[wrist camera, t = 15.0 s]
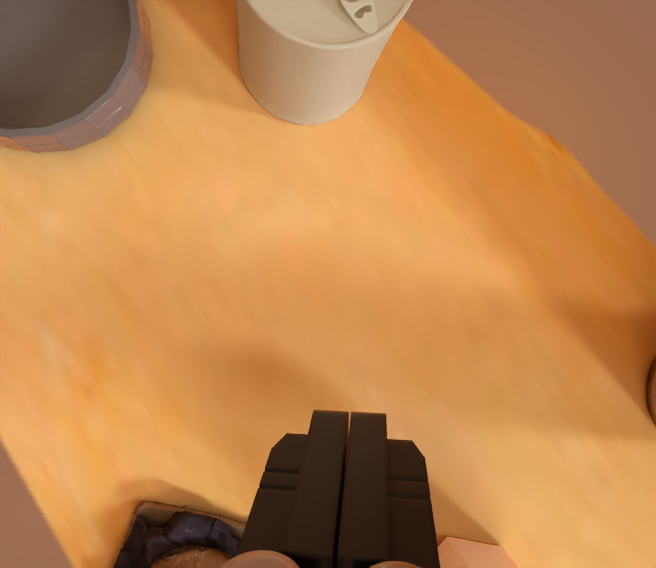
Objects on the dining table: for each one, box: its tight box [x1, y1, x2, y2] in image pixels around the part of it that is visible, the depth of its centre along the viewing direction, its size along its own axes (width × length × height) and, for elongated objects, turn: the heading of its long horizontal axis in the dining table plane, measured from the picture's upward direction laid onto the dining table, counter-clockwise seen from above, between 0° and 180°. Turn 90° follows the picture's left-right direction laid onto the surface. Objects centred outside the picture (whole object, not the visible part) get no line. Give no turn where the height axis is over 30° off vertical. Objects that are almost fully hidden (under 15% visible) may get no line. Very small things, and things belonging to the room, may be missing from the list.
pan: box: [0, 0, 153, 153], centre depth 29 cm, size 14×14×4 cm
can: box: [236, 0, 412, 125], centre depth 28 cm, size 9×9×12 cm
